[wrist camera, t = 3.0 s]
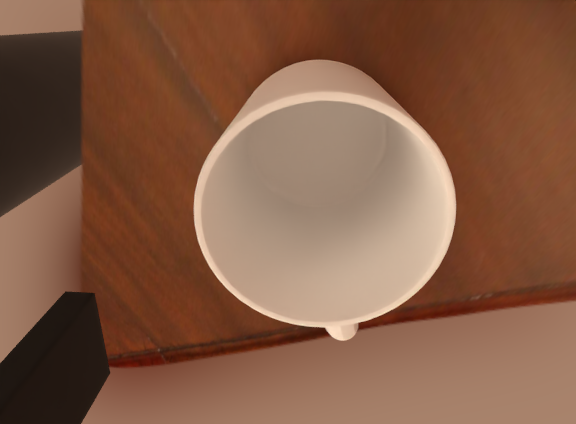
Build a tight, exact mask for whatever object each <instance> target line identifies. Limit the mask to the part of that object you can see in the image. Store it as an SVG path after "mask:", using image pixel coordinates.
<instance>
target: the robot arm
mask: <svg viewBox="0 0 576 424" xmlns="http://www.w3.org/2000/svg"><path fill="white" fill-rule="evenodd" d="M109 374H110V370H109V365H108V359H107V354H106V349H105V344H104V339H103V334H102V329H101V324H100V319H99V314H98V309H97V304H96V299H95V294H94V293H82V292H65V293H64V294H63V295H62V296H61V297H60V298H59V299H58V300H57V301H56V303H55V304H54V305H53V306H52V307H51V308H50V309H49V310H48V311H47V313H46V314H45V315H44V316H43V317H42V318H41V319H40V320H39V321H38V322H37V323H36V325H35V326H34V327H33V328H32V329H31V330H30V331H29V332H28V333H27V334H26V336H25V337H24V338H23V339H22V340H21V341H20V342H19V343H18V344H17V345H16V347H15V348H14V349H13V350H12V351H11V352H10V353H9V354H8V355H7V357H6V358H5V359H4V360H3V361H2V362H1V363H0V424H81V423H82V421H83V419H84V418H85V416H86V414H87V412H88V410H89V409H90V407H91V405H92V404H93V402H94V400H95V398H96V397H97V395H98V393H99V391H100V390H101V388H102V386H103V384H104V383H105V381H106V379H107V377H108V376H109Z"/></svg>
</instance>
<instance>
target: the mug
mask: <svg viewBox="0 0 576 424" xmlns="http://www.w3.org/2000/svg"><path fill="white" fill-rule="evenodd" d="M455 217H456V196H455V188H454V184H453V179H452V175H451V172H450V170H449V167H448V165H447V162H446V160H445V158H444V156H443V154H442V153H441V151H440V149H439V148H438V146H437V144H436V143H435V142H434V140H433V139H432V138H431V137H430V136H429V134H428V133H427V132H426V131H425V130H424V129H423V128H422V127H421V126H420V125H419V124H418V123H417V122H416V121H415V120H414V119H413V118H412V117H411V116H410V115H409V114H408V113H407V112H406V111H405V110H404V109H403V108H402V107H401V106H400V105H399V104H398V103H397V102H396V101H395V100H394V99H393V98H392V97H391V96H390V95H389V94H388V93H387V92H386V91H385V90H384V89H383V88H382V87H381V86H380V85H379V84H378V83H377V82H376V81H374V80H373V79H372V78H371V77H370V76H368V75H367V74H365V73H364V72H362V71H361V70H359V69H357V68H355V67H353V66H350V65H347V64H344V63H341V62H337V61H331V60H308V61H303V62H299V63H295V64H292V65H290V66H287V67H285V68H283V69H281V70H279V71H278V72H276V73H274V74H273V75H271V76H270V77H269V78H267V79H266V80H265V81H264V82H263V83H262V84H261V85H260V86H259V87H258V88H257V89H256V90H255V91H254V93H253V94H252V95H251V96H250V98H249V99H248V100H247V102H246V103H245V105H244V106H243V107H242V109H241V110H240V111H239V113H238V114H237V115H236V117H235V118H234V120H233V121H232V122H231V124H230V125H229V126H228V128H227V129H226V130H225V132H224V133H223V135H222V136H221V137H220V139H219V140H218V141H217V143H216V144H215V145H214V147H213V148H212V150H211V152H210V153H209V155H208V157H207V159H206V161H205V162H204V164H203V167H202V170H201V172H200V175H199V177H198V181H197V186H196V190H195V196H194V223H195V229H196V233H197V238H198V242H199V244H200V247H201V250H202V252H203V255H204V257H205V259H206V261H207V262H208V264H209V266H210V268H211V269H212V271H213V272H214V274H215V275H216V276H217V278H218V279H219V280H220V282H221V283H222V284H223V285H224V286H225V287H226V288H227V289H228V290H229V291H230V292H231V293H232V294H233V295H235V296H236V297H237V298H238V299H239V300H241V301H242V302H244V303H245V304H247V305H248V306H250V307H251V308H253V309H255V310H257V311H259V312H260V313H262V314H264V315H267V316H269V317H272V318H274V319H277V320H280V321H284V322H287V323H291V324H296V325H302V326H310V327H325V328H326V330H327V331H328V333H329V334H330V335H331V336H332V337H333V338H335V339H337V340H342V341H343V340H344V341H345V340H348V339H350V338H352V337H353V336H354V335H355V334H356V332H357V329H358V323H359V322H363V321H367V320H370V319H372V318H375V317H378V316H380V315H383V314H384V313H386V312H388V311H390V310H392V309H394V308H396V307H398V306H399V305H401V304H402V303H404V302H405V301H407V300H408V299H409V298H410V297H412V296H413V295H414V294H415V293H416V292H418V291H419V290H420V289H421V288H422V287H423V286H424V284H425V283H426V282H427V281H428V280H429V279H430V278H431V277H432V275H433V274H434V272H435V271H436V270H437V268H438V267H439V265H440V263H441V261H442V260H443V258H444V256H445V254H446V252H447V249H448V246H449V244H450V241H451V238H452V234H453V229H454V225H455Z"/></svg>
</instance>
